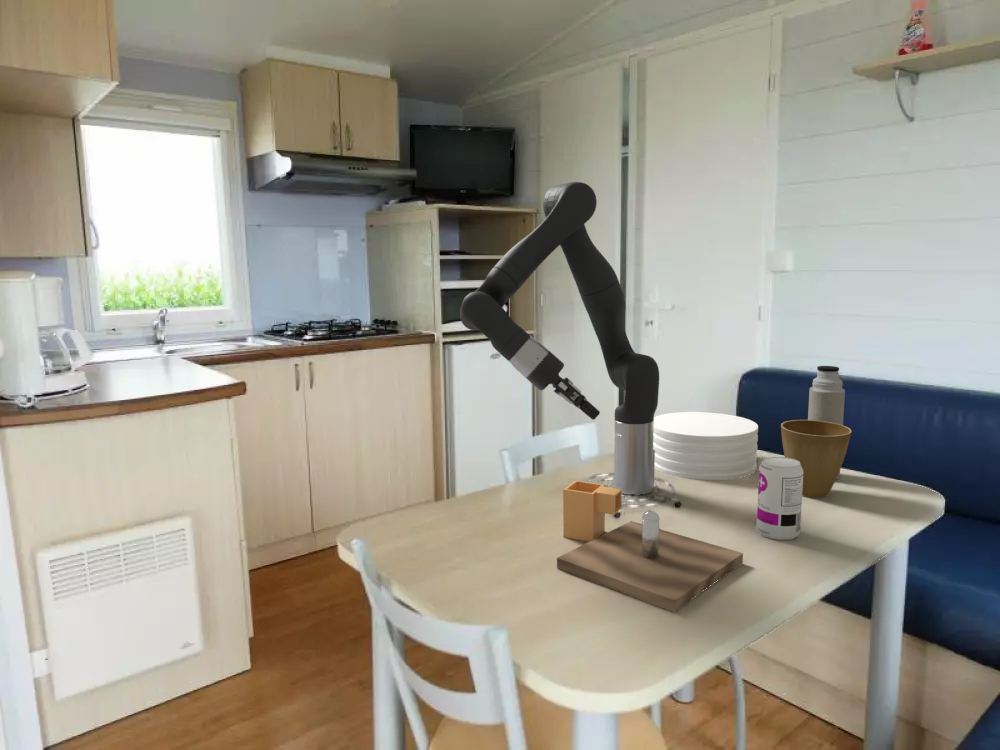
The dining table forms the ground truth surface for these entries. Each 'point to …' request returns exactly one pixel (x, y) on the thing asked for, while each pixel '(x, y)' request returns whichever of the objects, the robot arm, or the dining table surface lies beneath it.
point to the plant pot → (816, 452)
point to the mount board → (651, 565)
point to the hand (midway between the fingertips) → (594, 414)
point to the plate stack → (705, 445)
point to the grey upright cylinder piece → (650, 535)
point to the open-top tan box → (588, 509)
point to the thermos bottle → (827, 397)
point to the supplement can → (779, 498)
